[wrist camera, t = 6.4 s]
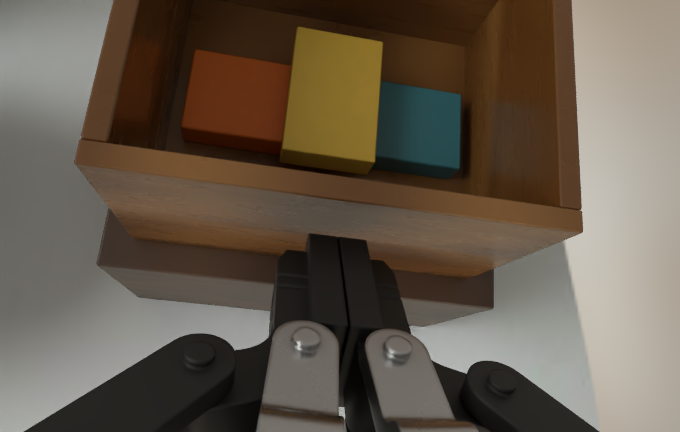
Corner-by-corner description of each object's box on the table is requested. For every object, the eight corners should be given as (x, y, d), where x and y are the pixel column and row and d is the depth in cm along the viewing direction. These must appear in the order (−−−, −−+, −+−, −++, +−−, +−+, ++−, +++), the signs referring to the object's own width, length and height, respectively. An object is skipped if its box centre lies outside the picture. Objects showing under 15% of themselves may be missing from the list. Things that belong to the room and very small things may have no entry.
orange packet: (318, 86, 20) (323, 69, 19) (310, 160, 20) (315, 147, 18) (196, 66, 20) (194, 47, 19) (182, 141, 19) (179, 127, 18)
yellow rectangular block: (293, 45, 19) (297, 25, 18) (375, 60, 20) (383, 41, 19) (279, 162, 18) (282, 148, 17) (367, 175, 19) (375, 163, 17)
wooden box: (472, 45, 23) (568, -88, 16) (469, 278, 20) (583, 232, 13) (182, -10, 21) (156, -183, 15) (132, 239, 18) (73, 163, 12)
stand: (431, 129, 31) (494, 50, 23) (423, 327, 28) (494, 309, 20) (177, 89, 29) (155, -13, 21) (137, 297, 26) (95, 264, 18)
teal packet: (450, 108, 21) (462, 93, 20) (448, 180, 20) (460, 168, 19) (337, 89, 21) (343, 72, 19) (330, 163, 20) (335, 150, 19)
